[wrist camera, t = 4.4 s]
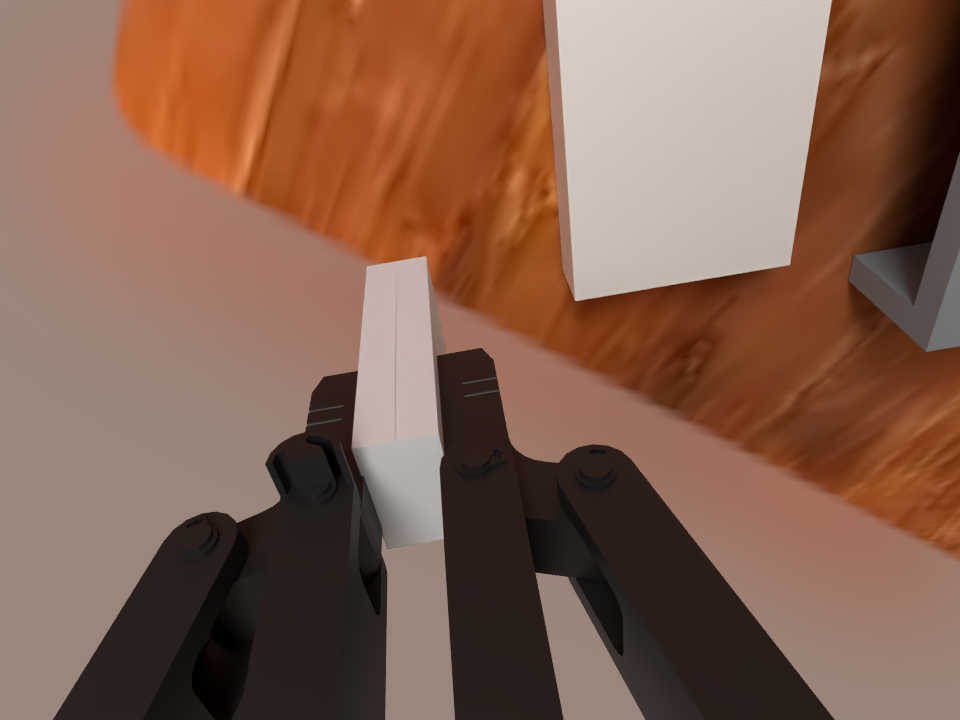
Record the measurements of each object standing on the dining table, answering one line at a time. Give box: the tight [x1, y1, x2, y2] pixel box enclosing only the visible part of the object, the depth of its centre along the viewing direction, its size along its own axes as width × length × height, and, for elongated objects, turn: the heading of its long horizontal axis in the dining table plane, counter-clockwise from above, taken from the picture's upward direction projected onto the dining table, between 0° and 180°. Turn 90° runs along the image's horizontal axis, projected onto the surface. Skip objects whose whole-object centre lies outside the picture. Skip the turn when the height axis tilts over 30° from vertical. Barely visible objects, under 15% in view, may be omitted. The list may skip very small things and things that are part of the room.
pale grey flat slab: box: [543, 0, 832, 301], centre depth 27 cm, size 16×10×3 cm, turn 8°
